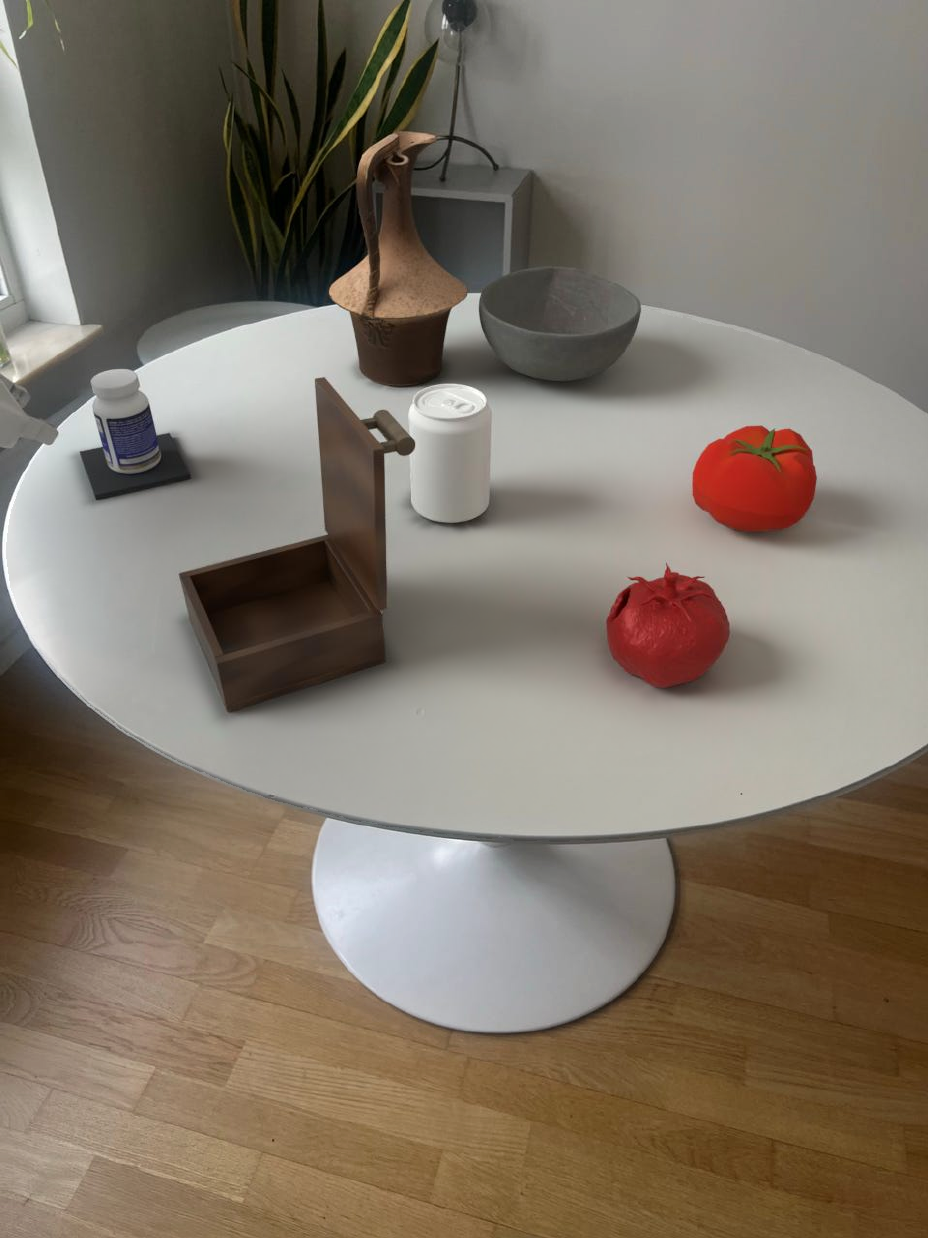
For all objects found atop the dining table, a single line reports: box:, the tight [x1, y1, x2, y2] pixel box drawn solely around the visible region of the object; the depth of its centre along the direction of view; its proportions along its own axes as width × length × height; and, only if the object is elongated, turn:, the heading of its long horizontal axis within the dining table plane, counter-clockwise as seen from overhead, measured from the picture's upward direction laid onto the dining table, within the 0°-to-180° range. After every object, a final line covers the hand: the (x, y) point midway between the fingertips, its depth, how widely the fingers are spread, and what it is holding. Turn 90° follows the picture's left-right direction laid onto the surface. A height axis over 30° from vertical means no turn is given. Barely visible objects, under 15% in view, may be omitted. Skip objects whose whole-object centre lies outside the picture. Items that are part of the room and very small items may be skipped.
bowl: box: [478, 266, 642, 382], centre depth 118 cm, size 20×20×10 cm
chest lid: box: [314, 376, 415, 611], centre depth 75 cm, size 14×13×5 cm
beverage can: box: [407, 383, 493, 524], centre depth 93 cm, size 8×8×12 cm
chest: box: [178, 533, 386, 713], centre depth 79 cm, size 14×13×5 cm
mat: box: [79, 432, 192, 501], centre depth 102 cm, size 10×10×1 cm
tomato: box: [691, 425, 818, 532], centre depth 93 cm, size 13×12×8 cm
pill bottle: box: [90, 368, 161, 474], centre depth 99 cm, size 6×6×10 cm
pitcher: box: [328, 130, 469, 386], centre depth 113 cm, size 18×17×28 cm
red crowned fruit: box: [605, 562, 731, 688], centre depth 76 cm, size 10×10×9 cm
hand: (39, 417), depth 94 cm, fingers open, 8 cm apart
